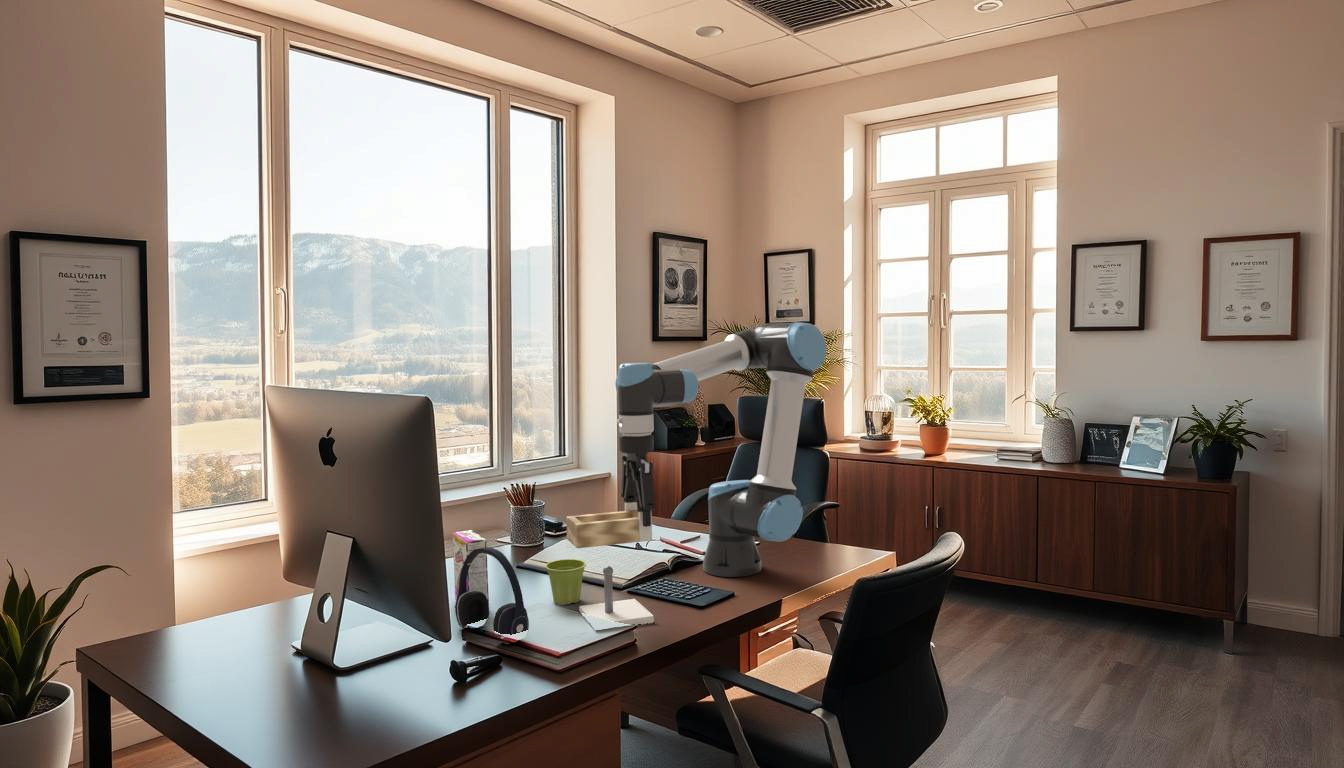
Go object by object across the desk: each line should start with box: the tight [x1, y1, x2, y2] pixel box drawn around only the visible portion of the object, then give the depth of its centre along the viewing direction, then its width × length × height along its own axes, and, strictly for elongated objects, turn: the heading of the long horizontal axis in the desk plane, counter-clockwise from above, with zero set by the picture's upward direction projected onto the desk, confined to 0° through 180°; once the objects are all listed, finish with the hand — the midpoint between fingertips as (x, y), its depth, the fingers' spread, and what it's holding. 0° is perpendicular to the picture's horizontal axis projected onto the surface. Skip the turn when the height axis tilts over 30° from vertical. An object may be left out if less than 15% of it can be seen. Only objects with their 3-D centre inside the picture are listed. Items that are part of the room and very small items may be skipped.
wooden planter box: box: [565, 510, 644, 549], centre depth 190 cm, size 16×9×5 cm, turn 111°
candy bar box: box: [451, 529, 490, 606], centre depth 202 cm, size 11×5×16 cm, turn 31°
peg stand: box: [578, 565, 655, 626], centre depth 191 cm, size 13×13×12 cm
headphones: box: [454, 546, 530, 635], centre depth 181 cm, size 20×7×18 cm, turn 47°
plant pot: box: [544, 558, 587, 606], centre depth 204 cm, size 9×9×9 cm
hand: (638, 535), depth 192 cm, fingers closed on wooden planter box, 9 cm apart
